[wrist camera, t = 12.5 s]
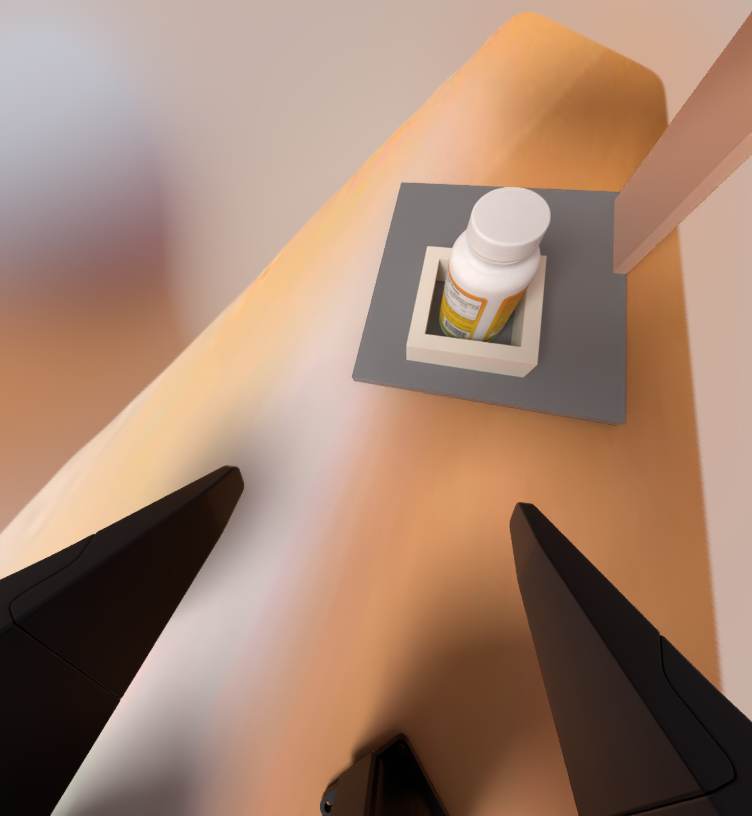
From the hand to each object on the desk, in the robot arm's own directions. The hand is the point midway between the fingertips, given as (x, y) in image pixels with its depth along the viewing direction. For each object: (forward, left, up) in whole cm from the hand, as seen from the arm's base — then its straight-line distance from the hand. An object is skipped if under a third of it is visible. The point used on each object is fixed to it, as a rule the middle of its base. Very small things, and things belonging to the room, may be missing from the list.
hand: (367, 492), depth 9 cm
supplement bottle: (+7, -14, -13) cm, 20 cm away
